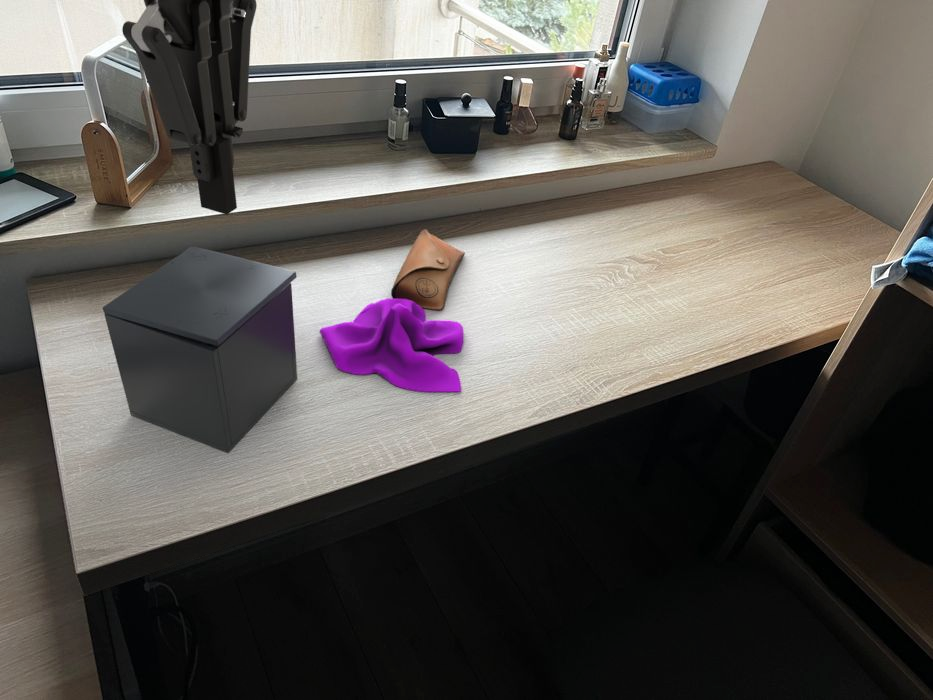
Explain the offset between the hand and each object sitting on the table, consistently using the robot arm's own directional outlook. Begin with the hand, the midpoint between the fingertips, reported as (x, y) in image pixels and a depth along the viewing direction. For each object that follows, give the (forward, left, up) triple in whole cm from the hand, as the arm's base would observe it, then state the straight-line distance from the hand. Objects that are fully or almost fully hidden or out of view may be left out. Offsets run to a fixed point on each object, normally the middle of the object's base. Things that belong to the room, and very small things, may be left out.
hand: (219, 207), depth 65 cm
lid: (+5, +8, -15) cm, 18 cm away
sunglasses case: (+43, -4, -31) cm, 53 cm away
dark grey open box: (+5, +8, -30) cm, 32 cm away
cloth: (+25, -8, -31) cm, 40 cm away
